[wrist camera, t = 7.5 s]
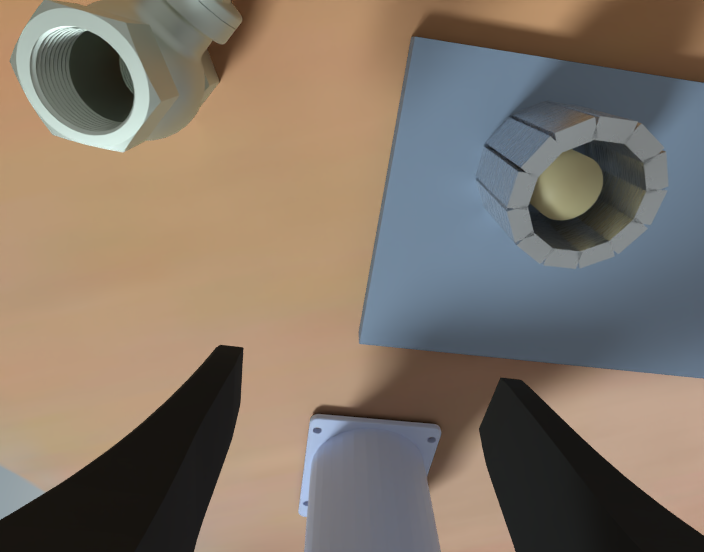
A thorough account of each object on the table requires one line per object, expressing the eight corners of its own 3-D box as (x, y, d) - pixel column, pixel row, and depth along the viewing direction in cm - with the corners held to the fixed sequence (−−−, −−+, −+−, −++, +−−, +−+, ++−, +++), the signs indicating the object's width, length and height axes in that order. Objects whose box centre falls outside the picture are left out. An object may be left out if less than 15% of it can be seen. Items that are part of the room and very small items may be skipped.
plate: (766, 374, 25) (835, 428, 22) (358, 332, 23) (361, 384, 20) (959, 124, 18) (1103, 144, 15) (411, 36, 17) (429, 35, 13)
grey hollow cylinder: (575, 232, 19) (626, 274, 16) (463, 219, 19) (490, 259, 16) (624, 111, 17) (697, 129, 14) (497, 93, 17) (538, 107, 13)
